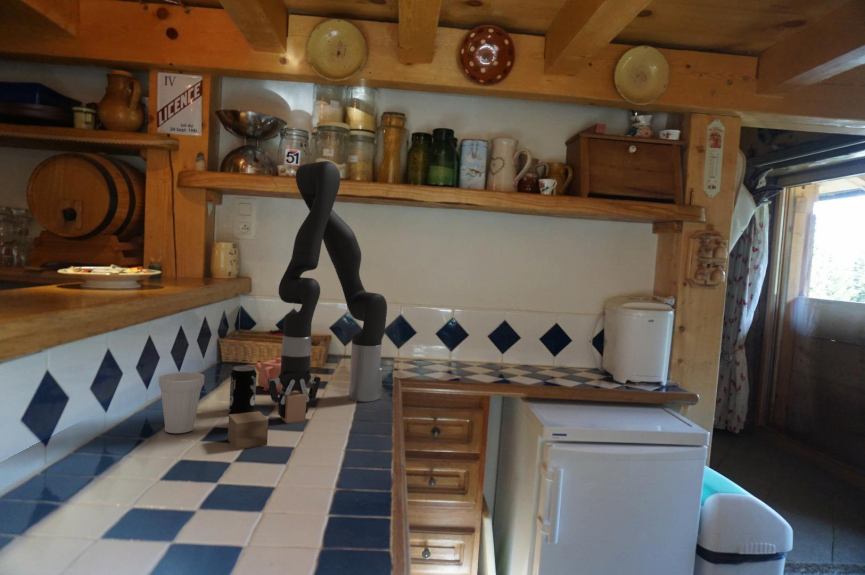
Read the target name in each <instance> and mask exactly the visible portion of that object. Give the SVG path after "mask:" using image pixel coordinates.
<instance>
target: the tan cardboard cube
mask: <svg viewBox="0 0 865 575" xmlns="http://www.w3.org/2000/svg"><path fill="white" fill-rule="evenodd" d="M306 398H307V395H306V394H302V393H301V392H299V391H293V392H290V394H289V396H286V402H285V404H286V410H285V418H281V417H280V419H281V420H282V421H283V422H285V423H286V424H291V423H292V424H293V423H301V422H305V421H306V415H307V413H306Z"/></svg>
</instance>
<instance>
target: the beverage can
mask: <svg viewBox="0 0 865 575" xmlns="http://www.w3.org/2000/svg"><path fill="white" fill-rule="evenodd" d="M229 386H230V387H229V388H230V389H229V411H230V412H231V413H232V414H239V413H249V412H254V411H255V409H256V396H257V395H256V393H257V392H256V391H257V371H256V368H255V367H254V366H252V365H236V366H233V367H232V371H231V373H230V385H229Z"/></svg>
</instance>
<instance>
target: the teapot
mask: <svg viewBox="0 0 865 575" xmlns="http://www.w3.org/2000/svg"><path fill="white" fill-rule="evenodd" d="M253 367H255V370H257V372H258V377H257V384H258V386H259V387H262V391H264V392H267V391H269V392H270V390H269V385H268V380H269V379H275V378H278V377H279V375H280V373H281V357H276V358H275V359H271V360H270V359H269V360H267V361H264V362H262V363H260V362H256V363H255V364H254V366H253ZM282 386H283V385H282V384H281V383H280V382H279V383H278V386H277V387H276V388H277V394H280V391H281V389H282Z"/></svg>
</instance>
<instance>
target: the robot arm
mask: <svg viewBox="0 0 865 575" xmlns="http://www.w3.org/2000/svg"><path fill="white" fill-rule="evenodd" d="M295 182H296V187H297V189H298V191H299V194H300V195H301V196H300V197H301V198H302V200H303V201H304V203H305V205H306V207H307V208H308V210H309V212H308V214H307V216H306V218H305V219H304V221H303V222H302V224H301V225H300V227H299V228H298V231H297V232H296V235H295V239H294V243H293V247H292V248H293V249H292V253H291V254H292V255H291V259H290V262H289V263H288V265H287V267H286V269H285V272H284V274H283V275H282V277H281V279H280V282H279V285H278V295H279V298H280V300H281V301H282V302H284V303H285V304H286V303H288V304H297V305H301V307H300V309H299V311H295V312H289V313H287V314H285V316H284V318H283V319H284V320H283V334H282V335H283V337H282V342H281V356H280V358H281V373H280V375H279V377H278V378H275V379H269V380H268V385H269V395H270V399H271V401H273V402H274V403H275V404H276V403H277V404H278V409H277V413H278V416H280V417H281V418H285V410H286V404H285V402H286V396H289V394H290V392H293V391H299V392H301V393H302V394H306V395H307V398H306V414H308V412H309V402H310V401H311V400H313V399H316V397H317V395H318V394H317V393H318V391H319V387H320V383H321V379H322V378H321V377H320V376H318V375H315V374H314V375H311V358H312V357H311V355H312V354H311V353H312V336H311V335H312V322H313V317H314V314H315V311H316V308H317V305H318V303H319V299H320V296H321V286H320V284H319V282H318V281H317V279H315V278H312V277H301V276H302V275H303V273H306V272H308V271H314V270H317V268H318V265H319V261H320V256H321V255H320V254H321V249H322V243H324V247H325V249H326V251H327V254H328V256H329V258H330V261H331V263H332V265H333V267H334V269H335V273H336V275H337V278H338V281H339V283H340V286H341V289H342V292H343V295H344V300H345V302H346V306H347V310H348V312H349V314H350V315H351V317H352V318H353V319H355V320H357V321H359V322H360V321H361V322H363V325H362V329H361V330H360V331H357V332H354V333H353V334H352V338H351V353H350V370H349V383H348V384H349V387H348V399H350V400H352V401H356V402H364V403H365V402H373V401H377V400H380V399H381V398H382V384H383V383H382V382H383V368H382V367H381V362H382V360H381V359H382V342H383V339H384V335H385V333H386V326H387V325H386V324H387V313H388V304H387V300H386V298H385V297H384V295H383V294H381V293H377V292H369V291H367V290H366V289H365V287H364V285H363V282H362V279H361V276H360V269H361V263H362V251H361V246H360V245H359V242H358V239H357V236H356V234H355V233H354V231H353V229H352V228H351V227H350V225H349V224H347V223H346V221H345V220H344V219H342V217H340V216H339V215H338V213H336V212H335V211H334V209H333V208H334V205H335V202H336V199H337V197H338V193H339V190H340V186H341V173H340V170H339V168H338V166H336V164H335V163H333V161H328V160H323V161H322V160H321V161H317V162H310V163H304V164H301V165H300V166H298V167H297V168H296V172H295ZM279 382H280V383H281V384H282V385H283V386H282V389H281V391H280V393H277V388H276V387H277V386H278V383H279ZM309 382H310V383H311V384H310V388H309V390H308V388H307V385H308V383H309ZM381 400H382V399H381ZM281 418H280V419H281Z"/></svg>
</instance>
